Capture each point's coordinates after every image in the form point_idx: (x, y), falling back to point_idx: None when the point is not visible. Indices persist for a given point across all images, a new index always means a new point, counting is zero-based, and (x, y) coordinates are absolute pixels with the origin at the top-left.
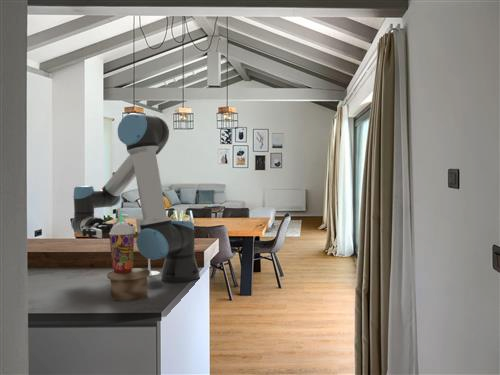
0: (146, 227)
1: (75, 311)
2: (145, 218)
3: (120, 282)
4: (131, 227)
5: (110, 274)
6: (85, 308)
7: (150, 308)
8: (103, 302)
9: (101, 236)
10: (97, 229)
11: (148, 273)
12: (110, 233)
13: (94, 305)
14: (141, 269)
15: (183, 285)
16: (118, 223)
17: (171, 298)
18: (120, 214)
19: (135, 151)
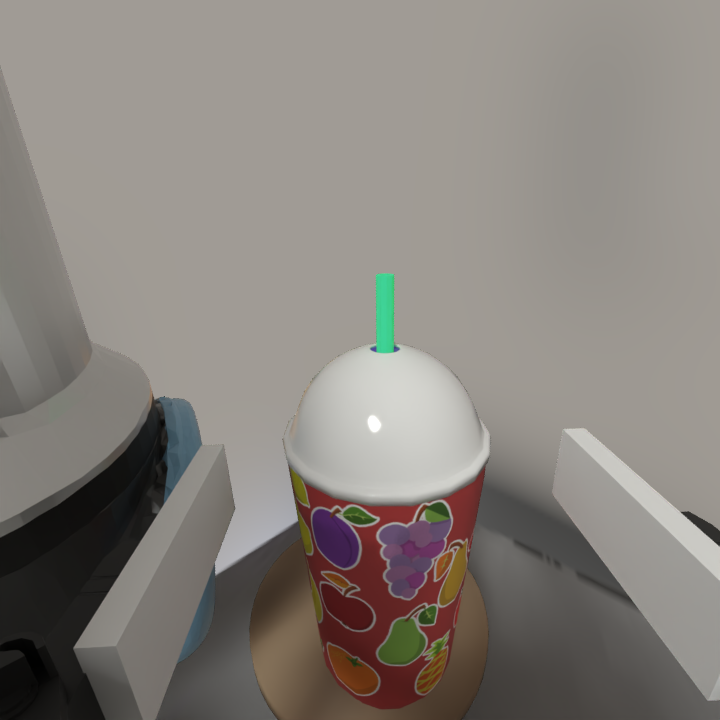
0: (158, 415)
1: (613, 607)
2: (82, 367)
3: None
4: (211, 482)
5: (469, 629)
6: (577, 620)
7: None
8: (503, 657)
9: (559, 481)
10: (626, 468)
11: (298, 542)
12: (481, 420)
13: (542, 637)
14: (271, 632)
15: None
16: (416, 348)
17: (273, 541)
18: (392, 275)
19: None
